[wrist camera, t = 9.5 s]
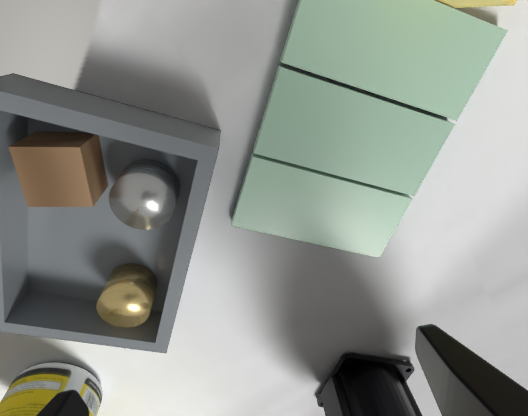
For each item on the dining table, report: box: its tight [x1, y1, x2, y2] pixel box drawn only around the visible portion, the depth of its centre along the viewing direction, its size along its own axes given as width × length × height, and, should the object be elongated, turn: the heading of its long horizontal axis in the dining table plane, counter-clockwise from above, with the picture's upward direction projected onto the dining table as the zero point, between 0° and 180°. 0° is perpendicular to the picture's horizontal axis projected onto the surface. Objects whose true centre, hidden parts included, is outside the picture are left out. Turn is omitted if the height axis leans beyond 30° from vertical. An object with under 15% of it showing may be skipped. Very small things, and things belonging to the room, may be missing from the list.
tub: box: [0, 73, 221, 353], centre depth 19 cm, size 10×14×3 cm
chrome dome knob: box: [109, 159, 180, 230], centre depth 18 cm, size 3×3×2 cm
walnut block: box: [9, 131, 108, 207], centre depth 17 cm, size 3×3×2 cm
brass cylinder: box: [96, 263, 158, 328], centre depth 21 cm, size 3×3×2 cm
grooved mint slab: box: [231, 0, 517, 258], centre depth 16 cm, size 10×19×4 cm, turn 163°
